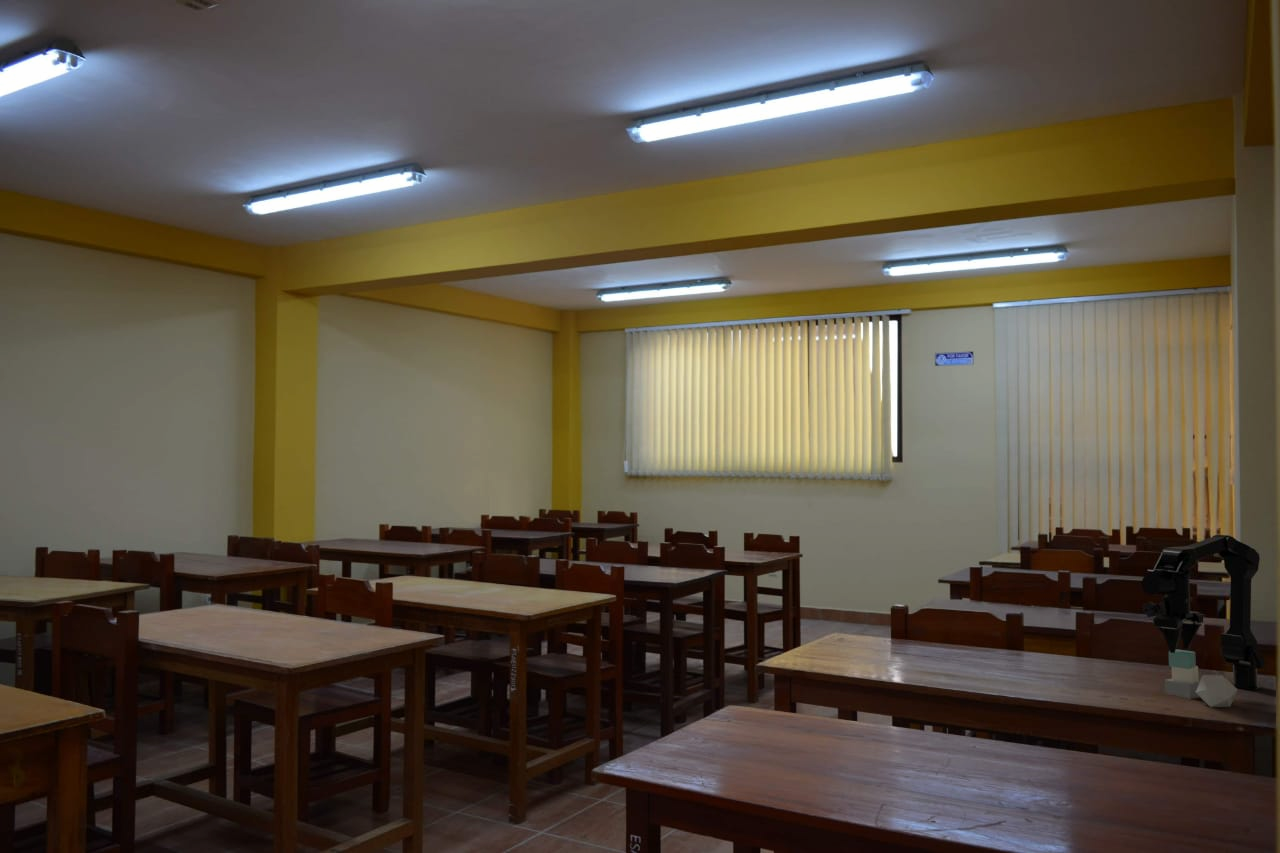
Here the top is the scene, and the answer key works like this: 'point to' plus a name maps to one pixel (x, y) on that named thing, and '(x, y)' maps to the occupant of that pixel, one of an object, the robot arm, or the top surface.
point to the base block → (1181, 689)
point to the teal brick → (1182, 659)
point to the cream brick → (1185, 674)
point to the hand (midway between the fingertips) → (1179, 650)
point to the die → (1216, 690)
